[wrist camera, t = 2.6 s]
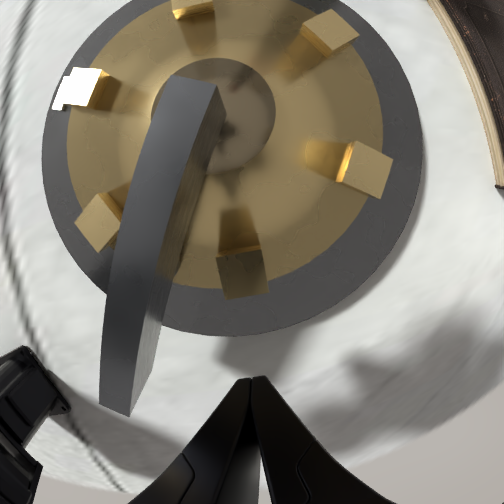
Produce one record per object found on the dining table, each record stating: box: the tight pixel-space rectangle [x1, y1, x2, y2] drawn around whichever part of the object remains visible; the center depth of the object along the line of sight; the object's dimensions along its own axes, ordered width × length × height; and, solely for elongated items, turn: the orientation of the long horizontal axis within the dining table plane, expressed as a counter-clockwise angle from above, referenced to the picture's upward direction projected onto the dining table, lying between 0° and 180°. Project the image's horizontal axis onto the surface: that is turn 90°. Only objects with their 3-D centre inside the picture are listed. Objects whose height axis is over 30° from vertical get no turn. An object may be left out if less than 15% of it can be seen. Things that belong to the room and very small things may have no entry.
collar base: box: [42, 0, 422, 336], centre depth 11 cm, size 19×19×2 cm
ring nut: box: [60, 0, 393, 417], centre depth 8 cm, size 14×14×5 cm
